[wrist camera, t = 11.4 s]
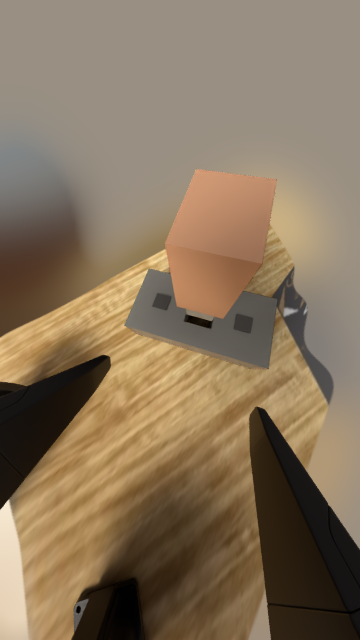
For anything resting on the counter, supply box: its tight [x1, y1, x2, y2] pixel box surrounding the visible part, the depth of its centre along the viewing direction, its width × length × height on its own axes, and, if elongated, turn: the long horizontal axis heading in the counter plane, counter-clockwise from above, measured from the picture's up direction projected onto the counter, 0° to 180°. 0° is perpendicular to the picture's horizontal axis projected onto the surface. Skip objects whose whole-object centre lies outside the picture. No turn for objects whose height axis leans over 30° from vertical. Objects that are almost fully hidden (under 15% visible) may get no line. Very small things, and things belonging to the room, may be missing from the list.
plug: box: [165, 169, 277, 321], centre depth 12 cm, size 5×4×11 cm
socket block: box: [124, 269, 278, 369], centre depth 21 cm, size 9×18×5 cm, turn 73°
